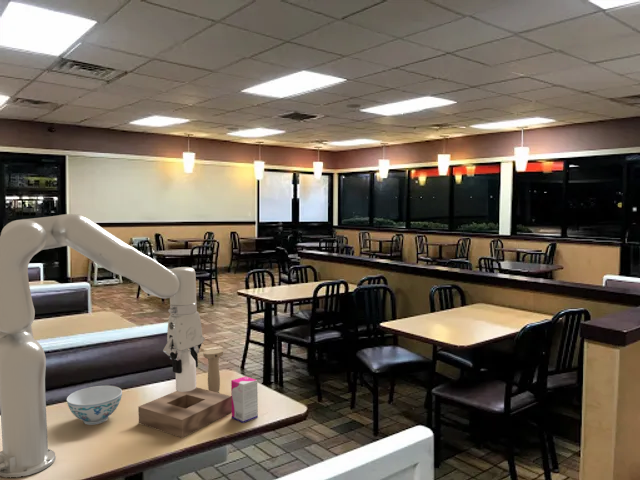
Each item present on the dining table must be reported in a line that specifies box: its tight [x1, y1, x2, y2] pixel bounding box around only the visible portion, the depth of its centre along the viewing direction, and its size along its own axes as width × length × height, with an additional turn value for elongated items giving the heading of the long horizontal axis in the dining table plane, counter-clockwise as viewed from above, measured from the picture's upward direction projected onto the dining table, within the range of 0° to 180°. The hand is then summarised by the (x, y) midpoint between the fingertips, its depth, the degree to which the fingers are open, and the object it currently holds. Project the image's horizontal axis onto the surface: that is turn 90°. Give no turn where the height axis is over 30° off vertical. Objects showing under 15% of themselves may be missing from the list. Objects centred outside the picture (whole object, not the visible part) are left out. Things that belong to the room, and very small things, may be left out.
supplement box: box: [230, 375, 259, 424], centre depth 150 cm, size 6×6×12 cm
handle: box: [202, 348, 224, 393], centre depth 168 cm, size 5×6×15 cm
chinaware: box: [66, 385, 123, 426], centre depth 150 cm, size 15×15×8 cm
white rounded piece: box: [174, 349, 197, 392], centre depth 150 cm, size 6×12×6 cm
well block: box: [137, 386, 232, 439], centre depth 151 cm, size 20×18×5 cm
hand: (185, 368), depth 150 cm, fingers closed on white rounded piece, 5 cm apart
